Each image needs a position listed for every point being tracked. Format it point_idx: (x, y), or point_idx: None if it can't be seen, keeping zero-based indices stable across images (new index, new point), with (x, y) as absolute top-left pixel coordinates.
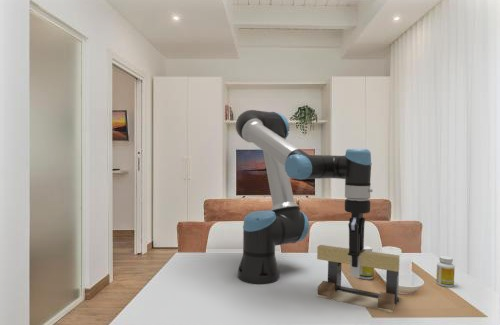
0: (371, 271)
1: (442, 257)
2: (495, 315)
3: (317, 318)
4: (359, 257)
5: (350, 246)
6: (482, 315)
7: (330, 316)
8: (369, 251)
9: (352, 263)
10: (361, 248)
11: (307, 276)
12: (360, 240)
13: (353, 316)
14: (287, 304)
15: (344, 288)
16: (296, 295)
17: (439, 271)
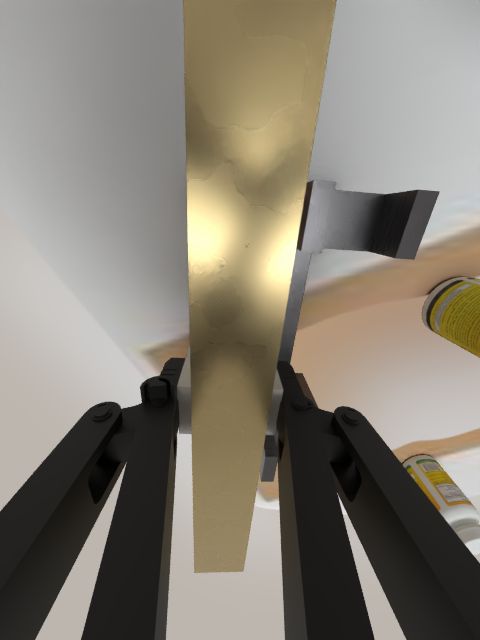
0: (447, 338)
1: (477, 542)
2: (276, 509)
3: (23, 217)
4: (180, 427)
5: (37, 483)
6: (267, 498)
7: (68, 253)
8: (254, 486)
9: (162, 372)
10: (278, 459)
11: (425, 46)
12: (281, 535)
13: (115, 312)
14: (39, 52)
15: (294, 261)
16: (156, 65)
17: (436, 492)
